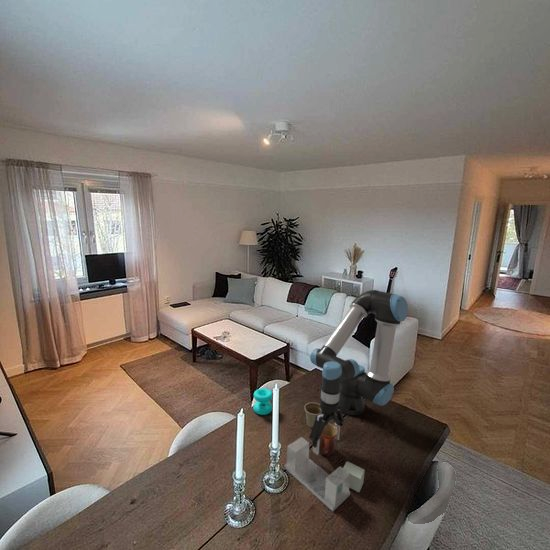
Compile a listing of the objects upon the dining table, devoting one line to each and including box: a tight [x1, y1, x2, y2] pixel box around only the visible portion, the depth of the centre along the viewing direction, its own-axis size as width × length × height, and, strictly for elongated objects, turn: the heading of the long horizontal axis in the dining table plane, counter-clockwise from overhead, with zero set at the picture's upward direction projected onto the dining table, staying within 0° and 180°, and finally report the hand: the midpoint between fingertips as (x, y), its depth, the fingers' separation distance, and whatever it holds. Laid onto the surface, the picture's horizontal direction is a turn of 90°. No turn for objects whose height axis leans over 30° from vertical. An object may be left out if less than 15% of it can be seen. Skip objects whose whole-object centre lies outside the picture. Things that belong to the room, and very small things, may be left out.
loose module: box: [342, 461, 366, 493], centre depth 115 cm, size 5×7×6 cm
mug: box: [319, 422, 338, 457], centre depth 129 cm, size 12×9×10 cm
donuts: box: [252, 387, 273, 416], centre depth 157 cm, size 10×10×10 cm
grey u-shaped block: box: [284, 436, 351, 512], centre depth 115 cm, size 10×25×10 cm, turn 41°
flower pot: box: [304, 402, 322, 429], centre depth 147 cm, size 9×9×9 cm
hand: (326, 445), depth 129 cm, fingers open, 13 cm apart
